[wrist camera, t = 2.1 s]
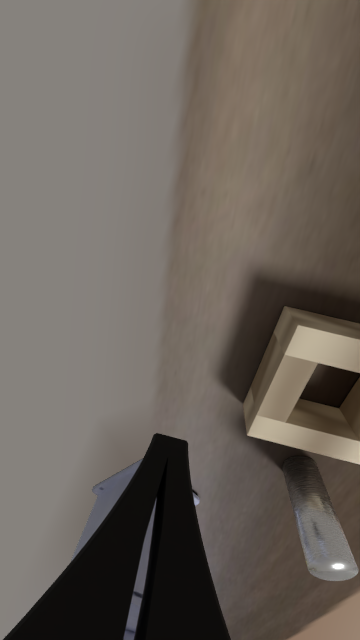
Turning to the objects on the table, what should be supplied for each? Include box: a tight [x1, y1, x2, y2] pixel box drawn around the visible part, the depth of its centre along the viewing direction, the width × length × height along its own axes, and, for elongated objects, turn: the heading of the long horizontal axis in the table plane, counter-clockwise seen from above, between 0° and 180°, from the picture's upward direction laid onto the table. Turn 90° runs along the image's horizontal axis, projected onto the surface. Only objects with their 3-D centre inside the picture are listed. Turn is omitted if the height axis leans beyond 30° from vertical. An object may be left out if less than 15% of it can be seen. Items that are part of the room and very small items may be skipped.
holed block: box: [243, 306, 360, 464], centre depth 17 cm, size 9×9×3 cm
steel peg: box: [282, 456, 358, 581], centre depth 19 cm, size 3×3×7 cm
